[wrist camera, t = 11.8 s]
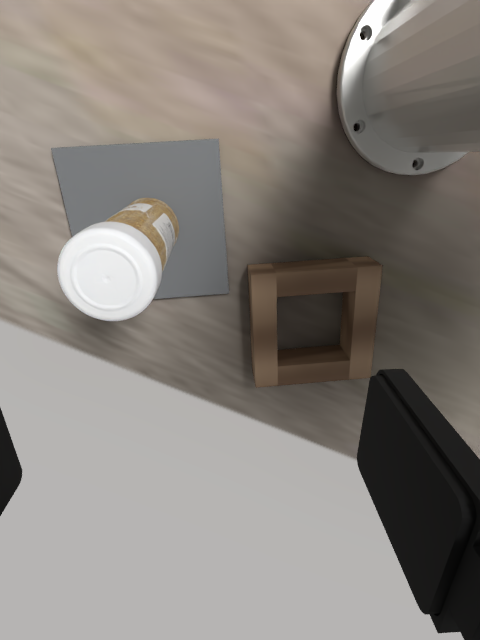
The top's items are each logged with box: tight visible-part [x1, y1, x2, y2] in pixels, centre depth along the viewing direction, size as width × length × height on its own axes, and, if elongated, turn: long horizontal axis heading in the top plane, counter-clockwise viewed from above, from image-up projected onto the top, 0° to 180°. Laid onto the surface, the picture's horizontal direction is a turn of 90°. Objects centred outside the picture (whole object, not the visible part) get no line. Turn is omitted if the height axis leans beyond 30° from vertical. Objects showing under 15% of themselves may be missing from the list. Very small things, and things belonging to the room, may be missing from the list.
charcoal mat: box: [51, 139, 229, 299], centre depth 29 cm, size 12×12×1 cm
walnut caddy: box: [248, 256, 383, 387], centre depth 32 cm, size 10×10×3 cm
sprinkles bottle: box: [57, 198, 179, 321], centre depth 23 cm, size 5×5×14 cm
